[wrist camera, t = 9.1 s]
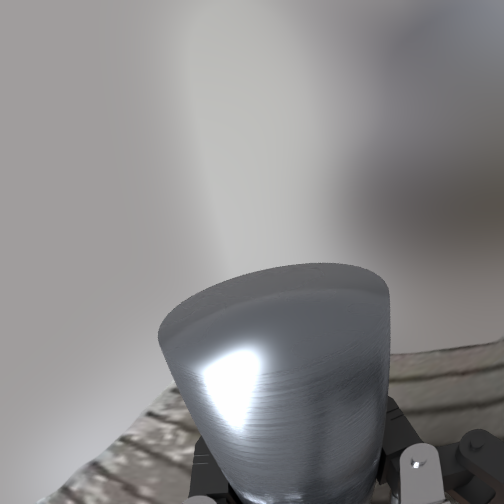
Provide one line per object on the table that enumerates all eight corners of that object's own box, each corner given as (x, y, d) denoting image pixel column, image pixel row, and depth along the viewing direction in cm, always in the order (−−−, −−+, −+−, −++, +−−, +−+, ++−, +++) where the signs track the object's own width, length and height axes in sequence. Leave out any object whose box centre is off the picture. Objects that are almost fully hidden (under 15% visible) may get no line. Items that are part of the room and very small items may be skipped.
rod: (314, 496, 13) (268, 260, 9) (376, 524, 9) (418, 266, 6) (260, 543, 10) (127, 324, 6) (323, 580, 6) (276, 423, 3)
